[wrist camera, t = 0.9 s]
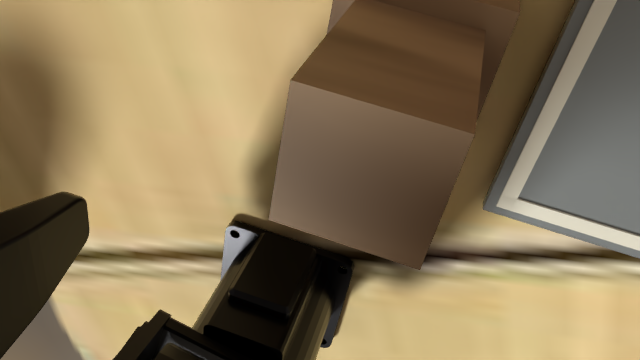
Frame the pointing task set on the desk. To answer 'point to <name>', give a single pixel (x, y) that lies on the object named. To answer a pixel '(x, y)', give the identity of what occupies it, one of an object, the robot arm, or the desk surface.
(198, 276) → the desk surface
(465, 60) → the stamp
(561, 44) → the marked board
